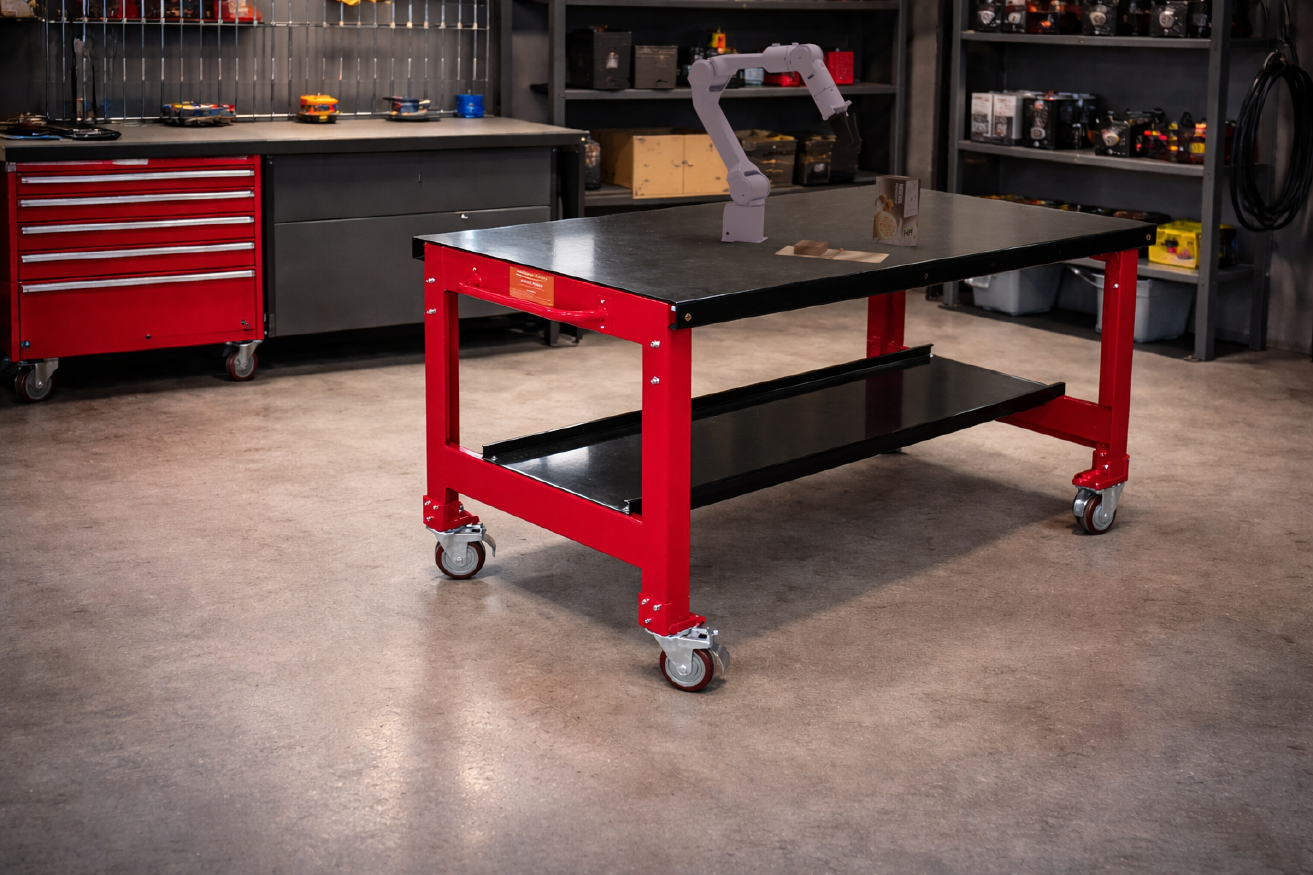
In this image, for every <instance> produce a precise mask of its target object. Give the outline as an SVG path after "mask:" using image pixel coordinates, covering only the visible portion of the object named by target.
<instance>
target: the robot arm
mask: <svg viewBox="0 0 1313 875" xmlns="http://www.w3.org/2000/svg"><path fill="white" fill-rule="evenodd" d="M791 44H792V45H781V44H780V43H772V45H771V46H768V47H766V48H765V49H764V51H763V52H762V53H761V52H760V53H759V52H758V53H735V54H723V55H716V56H712V57H708V58H707V59H698V60H696V61H694V62H693V63H692V64H691V66H690V70H689V72H688V76H687V81H688V82H689V84H690V86H691V98H692V104H693V107H694V110H695V112H696V113H697V116H698V117H699V120H700V121H701V123H702V125H703V127H704V129H705V131H706V132H707V134H708V136H709V138H710V140H711V141H712V143H713V145H714V147H715V149H716V151H717V153H718V155H719V156H720V158H721V160H722V162H723V165H724V166H725V168H726V169H727V175H726V178H725V180H726V182H727V184H728V188H729V194H730V198H731V199H732V200H733V202H726V204H725V205H724V208H723V209H724V210H723V215H722V236H721V237H722V238H721V240H720V241H721V242H729V243H733V242H735V241H736V242H745V243H746V242H747V243H756V244H760V243H762V242H764V241H765V240H767V239H768V237H765V236H764V226H765V225H764V224H765V222H764V220H765V207H766V206H765V205H766V199H767V198H768V197H769V195H770V192H771V182H770V180H769V178H768V176H766V175H765V174H763V173H762V172H761V171H760V169H759V167H758V166H757V165H755V164H754V163H753V162H751V161H750V160H749V158H748V157H747V155H746V153H745V151H744V149H743V147H742V145H741V143H740V141H739V140H738V137H737V136H736V134H735V132H734V131H733V129H732V127H731V125H730V123H729V121H728V119H727V118H726V116H725V114H724V111H723V110H722V108H721V106H720V105H719V102H720V97H721V95H722V93H723V92H724V91H725V89H726V87H727V85H728V84H729V83H730V80H731V79H732V76H735V75H736V74H737V72H738V71H739V70H743V69H754V68H764V70H765V71H766V72H768V73H770V74H771V73H787V72H790V73H791V72H798V73H799V74H800V76H801V78H802V80H803V82H804V83H805V85H806V87H807V89H808V91H809V93H810V94H811V96H812V98H813V101H814V102H815V104H816V106H817V108H818V110H819V112H820V113H821V115H822V119H823V122H822V123H821V124H822V126H824V127H825V128H827V129H828V130H829V131H830V132H831V133H832V134H833V135H834V136H835V137H836V139H837V140H838V141H839V142H840V143H841V145H842V146H843V147H844V148H847V147H850V148H852V149H853V150H855V149H857V148H859V147H860V146H861V145H862V140H861V138H860V135H859V132H858V127H857V115H856V113H855V112H852V113H851V114H848V111H847V110H848V107H849V106H850V105H851V104H852V101H851V100H847V101H845V100H844V98H843V97H842V95H841V92H840V90H839V89H838V87H837V85H836V83H835V81H834V79H833V77H832V75H831V73H830V71H829V70H828V68H827V67H826V65H825V63H824V52H823V50H822V49H821V47H820V46H819V45H816V44H812V43H807V44H803V43H802V44H799V42H792V43H791Z"/></svg>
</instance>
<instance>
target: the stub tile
mask: <svg viewBox="0 0 1313 875" xmlns="http://www.w3.org/2000/svg"><path fill="white" fill-rule="evenodd" d="M828 245H829V242H828V241H823V240H821V241H820V240H809V239H802V240H800V241H799V242H796V243H795V244H794V245H793V246H794V254H799V255H811V256H821V255H822V254H823V253H825V252H826V251H827V250H828V249H829V248H828V247H829V246H828Z"/></svg>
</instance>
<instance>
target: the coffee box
mask: <svg viewBox="0 0 1313 875" xmlns="http://www.w3.org/2000/svg"><path fill="white" fill-rule="evenodd" d="M921 184H922V178H921V177H920V178H919V177H912V176H904V175H896V174H887V175H886V174H885V175H880V176H876V179H875V194H874V196H875V197H874V208H873V225H872V229H873V230H872V243H873V244H874V243H875V244H884V245H886V244H887V245H893V246H899V247H905V246H906V247H907V246H911V247H916V246H917V238H918V226H919V212H920V210H919V209H920V197H921ZM872 243H871V244H872Z"/></svg>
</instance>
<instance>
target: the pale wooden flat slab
mask: <svg viewBox="0 0 1313 875" xmlns="http://www.w3.org/2000/svg"><path fill="white" fill-rule="evenodd" d="M774 255H780V256H790V257H803V258H814V259H827V260H838V261H839V260H840V261H850V262H863V263H871V264H881V263H882V262H883V261H884V260H885V259H886V258H887V257H888V256H890V254H889V253H880V252H868V251H857V250H856V251H855V250H854V251H853V250H845V249H844V248H839V249H834V248H833V249H832V248H828V250H827V251H826V252H825V253H823V254H822V255H821V256H811V255H799V254H794V245H787V246H784V247H783V248H781V249H780V250H778V251H776V252H775V253H774Z"/></svg>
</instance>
